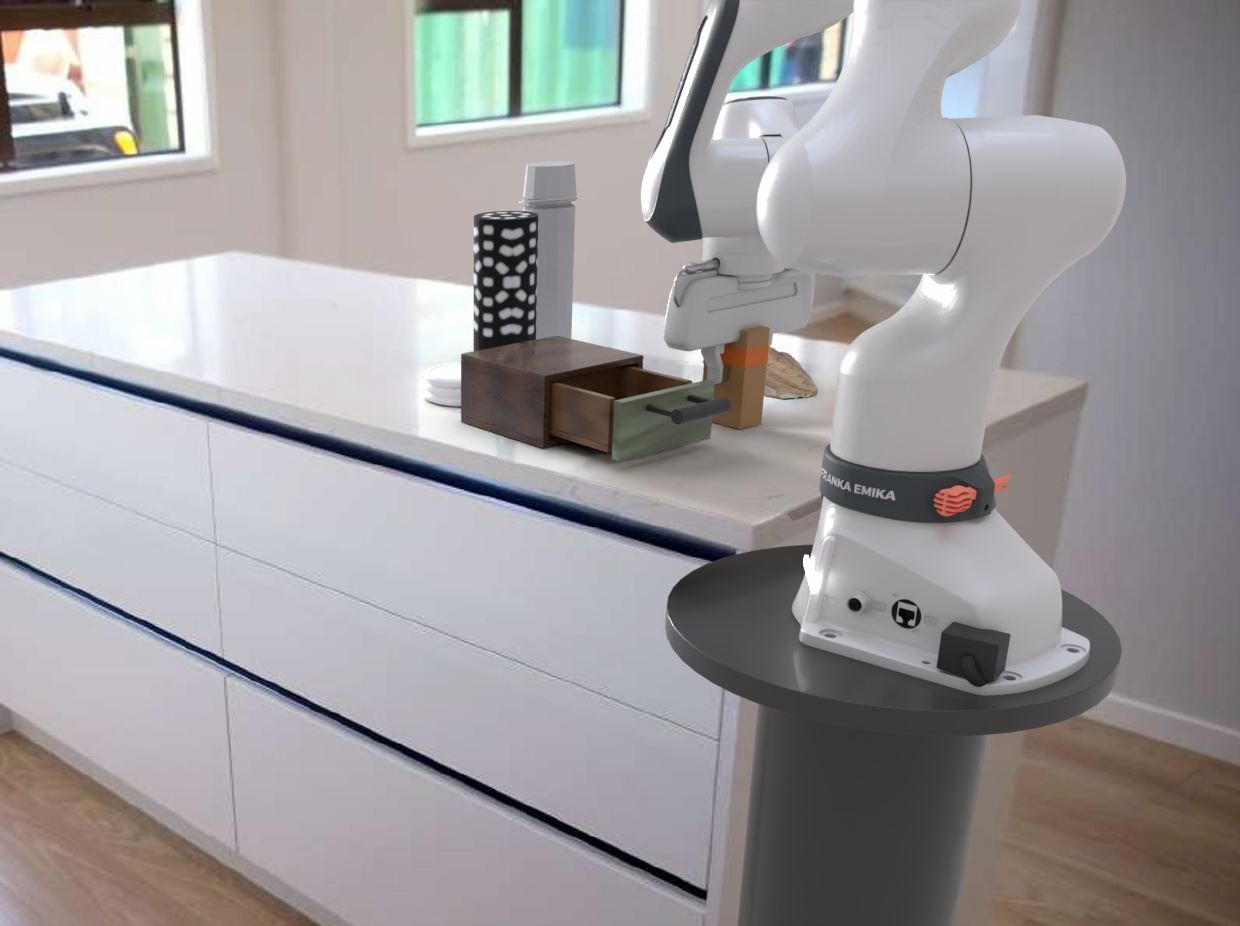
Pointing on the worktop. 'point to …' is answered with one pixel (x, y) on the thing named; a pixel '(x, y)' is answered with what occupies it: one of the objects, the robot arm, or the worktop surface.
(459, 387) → the white round shallow piece
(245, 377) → the worktop surface
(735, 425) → the block
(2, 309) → the worktop surface
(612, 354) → the cabinet
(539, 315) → the water bottle
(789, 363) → the fish fossil
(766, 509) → the worktop surface
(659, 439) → the drawer
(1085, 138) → the robot arm
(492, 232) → the white-spotted black cylinder
